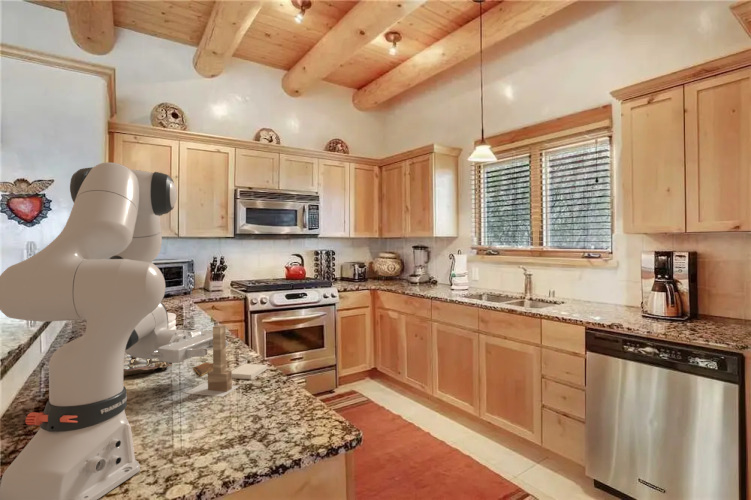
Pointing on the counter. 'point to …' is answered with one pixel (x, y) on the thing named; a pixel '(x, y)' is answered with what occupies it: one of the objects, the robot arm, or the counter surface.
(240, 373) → the slab tile
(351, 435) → the counter surface
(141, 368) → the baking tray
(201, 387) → the rest mat
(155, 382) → the counter surface
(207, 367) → the shard
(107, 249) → the robot arm
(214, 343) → the stacked wooden blocks
